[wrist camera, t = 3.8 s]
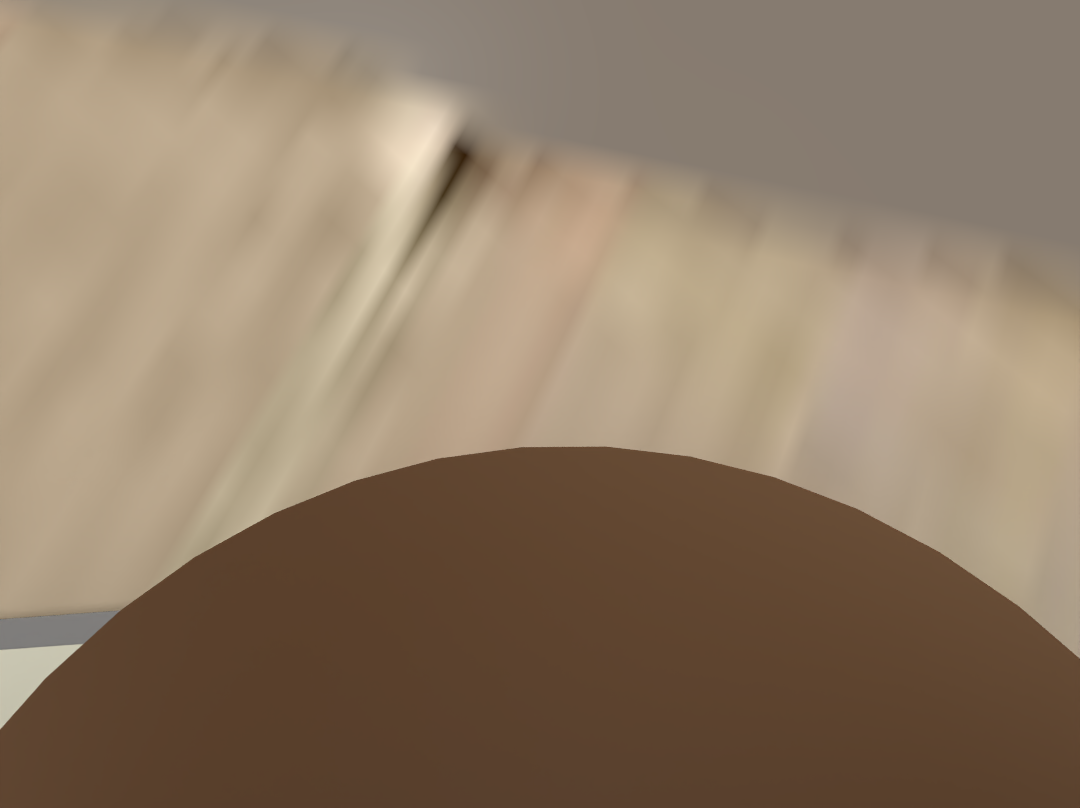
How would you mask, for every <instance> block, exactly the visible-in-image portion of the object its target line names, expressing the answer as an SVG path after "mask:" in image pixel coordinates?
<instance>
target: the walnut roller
mask: <svg viewBox="0 0 1080 808" xmlns="http://www.w3.org/2000/svg"><path fill="white" fill-rule="evenodd" d="M0 808H1080V659H1079V658H1078V657H1077V656H1076V655H1075V654H1074V653H1072V652H1071V651H1070V650H1069V649H1068V648H1067V647H1065V646H1064V645H1063V644H1062V643H1061V642H1060V641H1058V640H1057V639H1056V638H1055V637H1054V636H1053V635H1052V634H1050V633H1049V632H1048V631H1047V630H1046V629H1045V628H1043V627H1042V626H1041V625H1040V624H1039V623H1038V622H1036V621H1035V620H1034V619H1033V618H1032V617H1031V616H1029V615H1028V614H1027V613H1026V612H1025V611H1024V610H1022V609H1021V608H1020V607H1019V606H1017V605H1016V604H1015V603H1013V602H1012V601H1010V600H1009V599H1007V598H1006V597H1004V596H1003V595H1001V594H1000V593H998V592H997V591H995V590H994V589H993V588H991V587H990V586H988V585H987V584H985V583H984V582H982V581H981V580H979V579H978V578H976V577H975V576H974V575H972V574H971V573H969V572H968V571H966V570H965V569H963V568H962V567H960V566H959V565H957V564H956V563H954V562H953V561H952V560H950V559H949V558H947V557H946V556H944V555H943V554H941V553H940V552H938V551H936V550H934V549H932V548H930V547H929V546H927V545H925V544H923V543H921V542H919V541H917V540H915V539H913V538H911V537H909V536H908V535H906V534H904V533H902V532H900V531H898V530H896V529H894V528H892V527H890V526H889V525H887V524H885V523H883V522H881V521H879V520H877V519H875V518H873V517H871V516H869V515H868V514H866V513H864V512H862V511H860V510H858V509H856V508H853V507H850V506H848V505H845V504H842V503H840V502H837V501H835V500H832V499H829V498H827V497H824V496H822V495H819V494H816V493H814V492H811V491H808V490H806V489H803V488H801V487H798V486H795V485H793V484H790V483H787V482H785V481H782V480H780V479H777V478H774V477H770V476H766V475H762V474H758V473H754V472H750V471H746V470H742V469H738V468H734V467H730V466H726V465H722V464H718V463H714V462H710V461H706V460H702V459H697V458H693V457H688V456H680V455H671V454H663V453H655V452H646V451H638V450H629V449H621V448H612V447H521V448H514V449H506V450H499V451H492V452H484V453H477V454H469V455H462V456H455V457H447V458H440V459H435V460H431V461H428V462H424V463H420V464H416V465H413V466H409V467H405V468H401V469H398V470H394V471H390V472H386V473H383V474H379V475H375V476H371V477H368V478H364V479H360V480H356V481H353V482H351V483H348V484H346V485H343V486H341V487H339V488H336V489H334V490H331V491H329V492H326V493H324V494H321V495H319V496H316V497H314V498H311V499H309V500H306V501H304V502H301V503H299V504H296V505H294V506H292V507H289V508H287V509H284V510H282V511H279V512H277V513H274V514H272V515H270V516H269V517H267V518H265V519H263V520H261V521H260V522H258V523H256V524H254V525H252V526H251V527H249V528H247V529H245V530H243V531H242V532H240V533H238V534H236V535H234V536H232V537H231V538H229V539H227V540H225V541H223V542H222V543H220V544H218V545H216V546H214V547H213V548H211V549H209V550H207V551H205V552H204V553H202V554H200V555H198V556H196V557H195V558H193V559H192V560H190V561H189V562H188V563H186V564H185V565H183V566H182V567H181V568H179V569H178V570H176V571H175V572H174V573H172V574H171V575H169V576H168V577H167V578H165V579H164V580H163V581H161V582H160V583H158V584H157V585H156V586H154V587H153V588H151V589H150V590H149V591H147V592H146V593H144V594H143V595H142V596H140V597H139V598H137V599H136V600H135V601H133V602H132V603H130V604H129V605H128V606H126V607H125V608H123V609H122V610H121V611H119V612H118V613H117V614H116V615H115V616H114V617H113V618H111V619H110V620H109V621H108V622H107V623H106V624H105V625H104V626H103V627H101V628H100V629H99V630H98V631H97V632H96V633H95V634H94V635H93V636H92V637H90V638H89V639H88V640H87V641H86V642H85V643H84V644H83V645H82V646H80V647H79V648H78V649H77V650H76V651H75V652H74V653H73V654H72V655H71V656H69V657H68V658H67V659H66V660H65V661H64V662H63V663H62V664H61V665H60V666H58V667H57V668H56V669H55V670H54V671H53V672H52V673H51V674H50V675H48V676H47V677H46V678H45V679H44V680H43V682H42V683H41V684H40V685H39V686H38V687H37V688H36V690H35V691H34V692H33V693H32V694H31V695H30V696H29V697H28V699H27V700H26V701H25V702H24V703H23V704H22V705H21V706H20V708H19V709H18V710H17V711H16V712H15V713H14V714H13V715H12V717H11V718H10V719H9V720H8V721H7V722H6V723H5V725H4V726H3V727H2V728H1V729H0Z"/></svg>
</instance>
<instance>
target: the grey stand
mask: <svg viewBox="0 0 1080 808" xmlns="http://www.w3.org/2000/svg"><path fill="white" fill-rule="evenodd" d="M118 612H119V611H108V612H95V613H81V614H67V615H54V616H40V617H26V618H12V619H0V729H1V728H2V727H3V726H4V725H5V723H6V722H7V721H8V720H9V719H10V718H11V717H12V715H13V714H14V713H15V712H16V711H17V710H18V709H19V708H20V706H21V705H22V704H23V703H24V702H25V701H26V700H27V699H28V697H29V696H30V695H31V694H32V693H33V692H34V691H35V690H36V688H37V687H38V686H39V685H40V684H41V683H42V682H43V680H44V679H45V678H46V677H47V676H48V675H50V674H51V673H52V672H53V671H54V670H55V669H56V668H57V667H58V666H60V665H61V664H62V663H63V662H64V661H65V660H66V659H67V658H68V657H69V656H71V655H72V654H73V653H74V652H75V651H76V650H77V649H78V648H79V647H80V646H82V645H83V644H84V643H85V642H86V641H87V640H88V639H89V638H90V637H92V636H93V635H94V634H95V633H96V632H97V631H98V630H99V629H100V628H101V627H103V626H104V625H105V624H106V623H107V622H108V621H109V620H110V619H111V618H113V617H114V616H115V615H116V614H117V613H118Z"/></svg>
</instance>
